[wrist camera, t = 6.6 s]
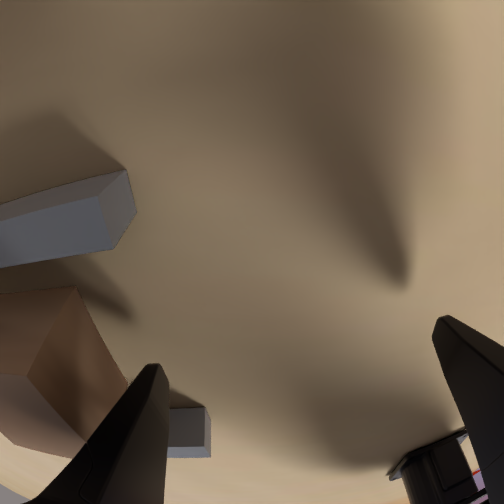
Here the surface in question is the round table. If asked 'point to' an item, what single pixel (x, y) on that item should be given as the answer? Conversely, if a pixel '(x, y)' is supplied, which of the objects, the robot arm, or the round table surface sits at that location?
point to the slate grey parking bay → (87, 241)
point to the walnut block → (53, 371)
